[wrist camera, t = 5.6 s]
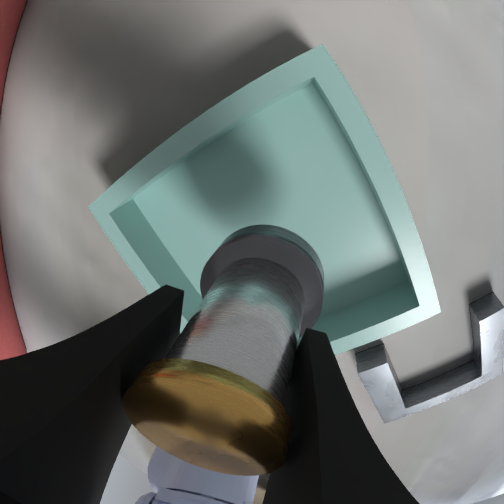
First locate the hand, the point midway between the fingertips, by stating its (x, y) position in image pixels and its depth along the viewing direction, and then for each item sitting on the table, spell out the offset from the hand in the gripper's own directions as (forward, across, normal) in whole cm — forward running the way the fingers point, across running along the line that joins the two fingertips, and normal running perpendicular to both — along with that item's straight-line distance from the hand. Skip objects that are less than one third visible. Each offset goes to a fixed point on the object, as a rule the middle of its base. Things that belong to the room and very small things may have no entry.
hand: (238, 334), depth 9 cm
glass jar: (+3, 0, 0) cm, 3 cm away
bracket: (+8, -13, +5) cm, 16 cm away
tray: (+8, 0, 0) cm, 8 cm away
